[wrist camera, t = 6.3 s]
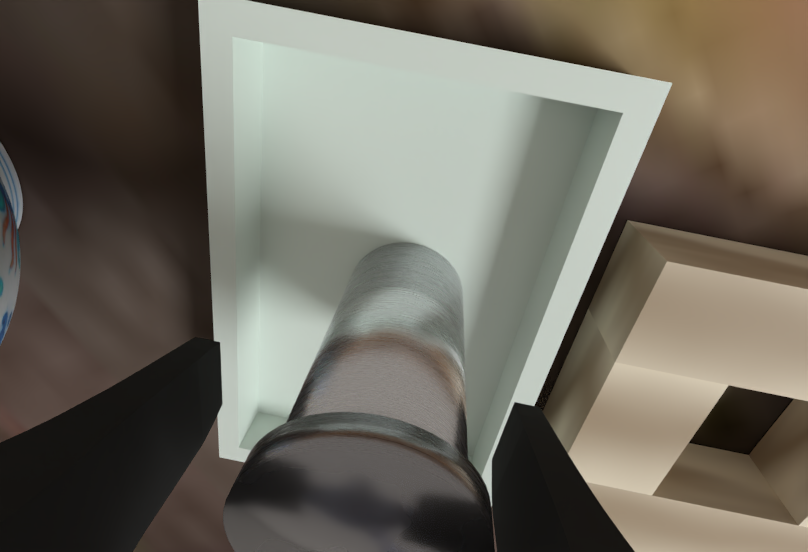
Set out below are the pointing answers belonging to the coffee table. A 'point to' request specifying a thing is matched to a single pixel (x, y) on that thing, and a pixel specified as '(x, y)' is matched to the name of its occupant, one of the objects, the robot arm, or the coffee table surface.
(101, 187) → the coffee table surface
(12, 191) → the chinaware
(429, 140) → the tray
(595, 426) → the pin block
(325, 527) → the metal pin
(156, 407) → the robot arm
